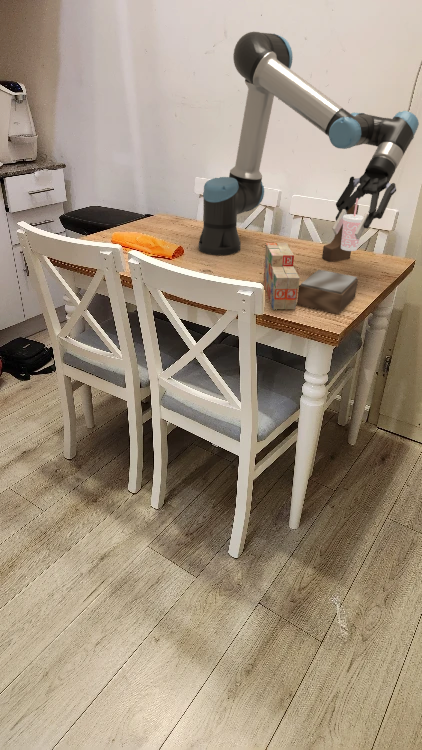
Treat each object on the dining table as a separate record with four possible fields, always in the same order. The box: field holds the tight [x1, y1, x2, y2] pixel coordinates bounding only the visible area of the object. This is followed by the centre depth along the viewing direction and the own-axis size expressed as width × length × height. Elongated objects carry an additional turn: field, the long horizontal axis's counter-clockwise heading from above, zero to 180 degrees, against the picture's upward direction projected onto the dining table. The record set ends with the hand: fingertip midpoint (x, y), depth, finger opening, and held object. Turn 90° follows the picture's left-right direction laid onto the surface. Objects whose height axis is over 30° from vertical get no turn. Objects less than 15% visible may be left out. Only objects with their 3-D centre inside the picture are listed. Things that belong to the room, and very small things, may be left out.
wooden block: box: [321, 203, 359, 263], centre depth 162 cm, size 9×4×18 cm, turn 116°
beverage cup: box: [341, 198, 364, 252], centre depth 136 cm, size 6×6×14 cm
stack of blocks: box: [263, 242, 301, 311], centre depth 135 cm, size 21×6×12 cm, turn 2°
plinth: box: [296, 269, 359, 315], centre depth 134 cm, size 12×14×6 cm
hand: (345, 233), depth 135 cm, fingers closed on beverage cup, 6 cm apart
